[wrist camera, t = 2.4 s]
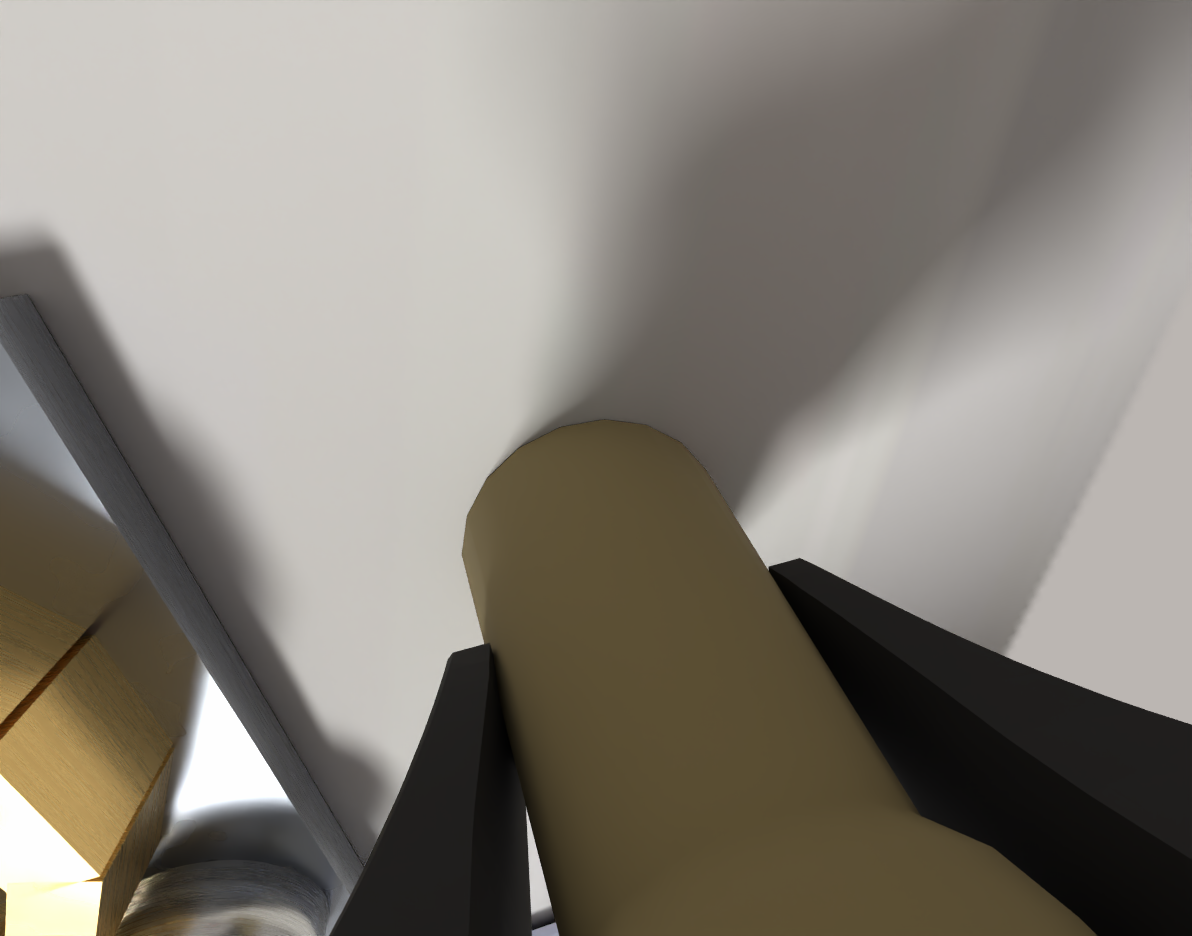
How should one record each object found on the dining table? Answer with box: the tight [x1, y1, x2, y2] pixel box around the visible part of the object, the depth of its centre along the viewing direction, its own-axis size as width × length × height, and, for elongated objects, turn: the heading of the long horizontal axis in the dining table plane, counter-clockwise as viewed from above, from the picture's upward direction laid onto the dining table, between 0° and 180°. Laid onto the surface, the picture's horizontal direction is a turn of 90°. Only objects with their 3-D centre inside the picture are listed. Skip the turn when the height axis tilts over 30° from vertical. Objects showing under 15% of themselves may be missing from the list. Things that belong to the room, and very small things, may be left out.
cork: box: [462, 419, 1097, 936], centre depth 8 cm, size 6×6×11 cm
